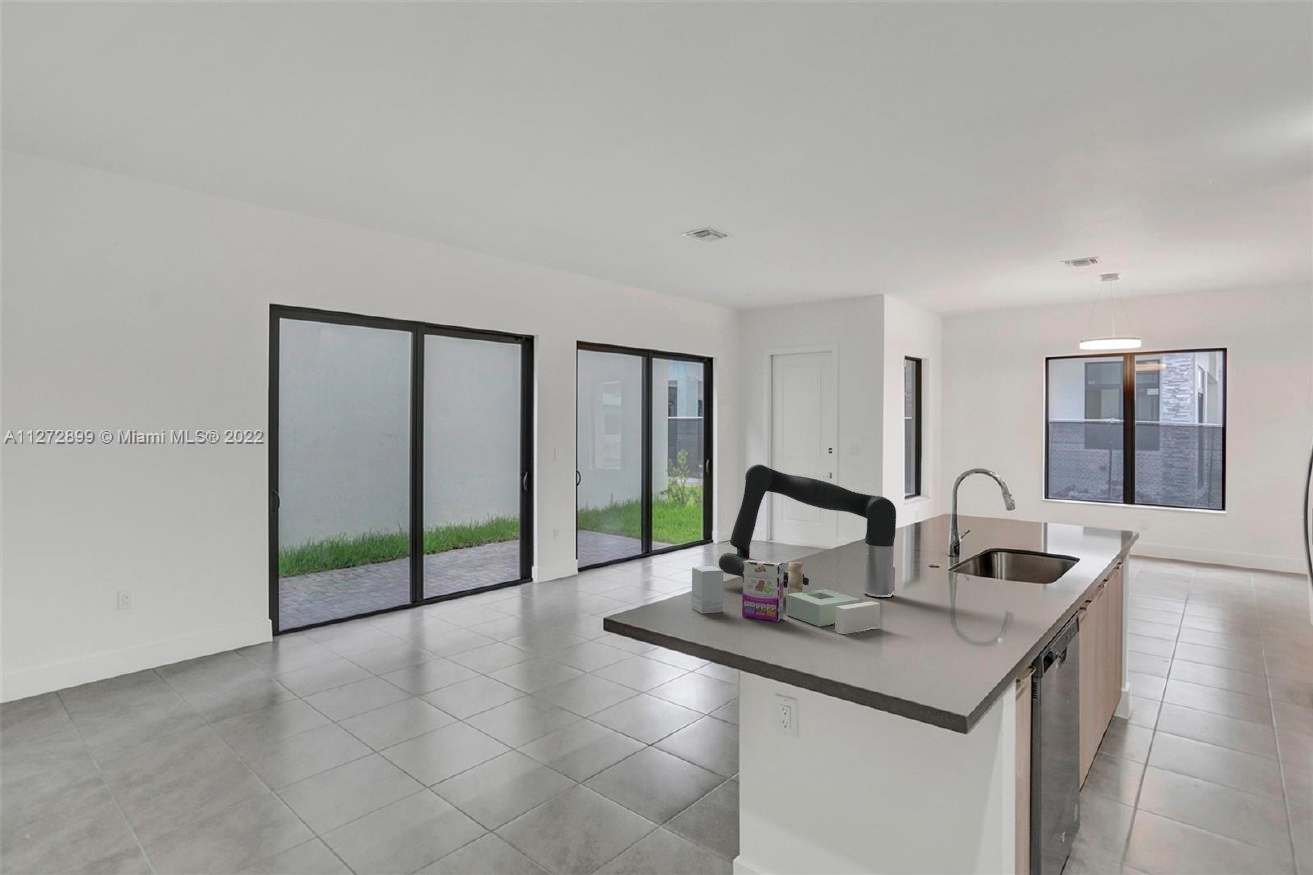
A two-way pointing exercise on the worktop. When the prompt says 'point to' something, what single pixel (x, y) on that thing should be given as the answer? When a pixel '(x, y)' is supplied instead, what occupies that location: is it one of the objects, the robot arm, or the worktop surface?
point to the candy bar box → (763, 590)
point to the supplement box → (707, 589)
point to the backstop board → (857, 617)
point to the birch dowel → (795, 577)
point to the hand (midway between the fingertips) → (797, 583)
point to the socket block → (817, 605)
